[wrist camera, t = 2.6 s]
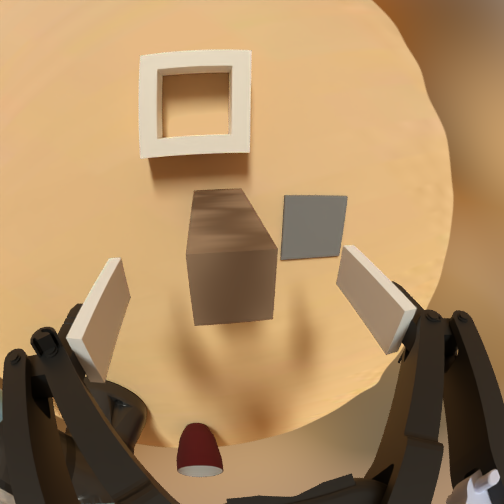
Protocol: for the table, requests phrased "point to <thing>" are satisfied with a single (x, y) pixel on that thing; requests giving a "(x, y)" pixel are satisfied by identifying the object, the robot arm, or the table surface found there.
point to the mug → (198, 452)
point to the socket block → (191, 63)
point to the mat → (312, 226)
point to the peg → (229, 260)
